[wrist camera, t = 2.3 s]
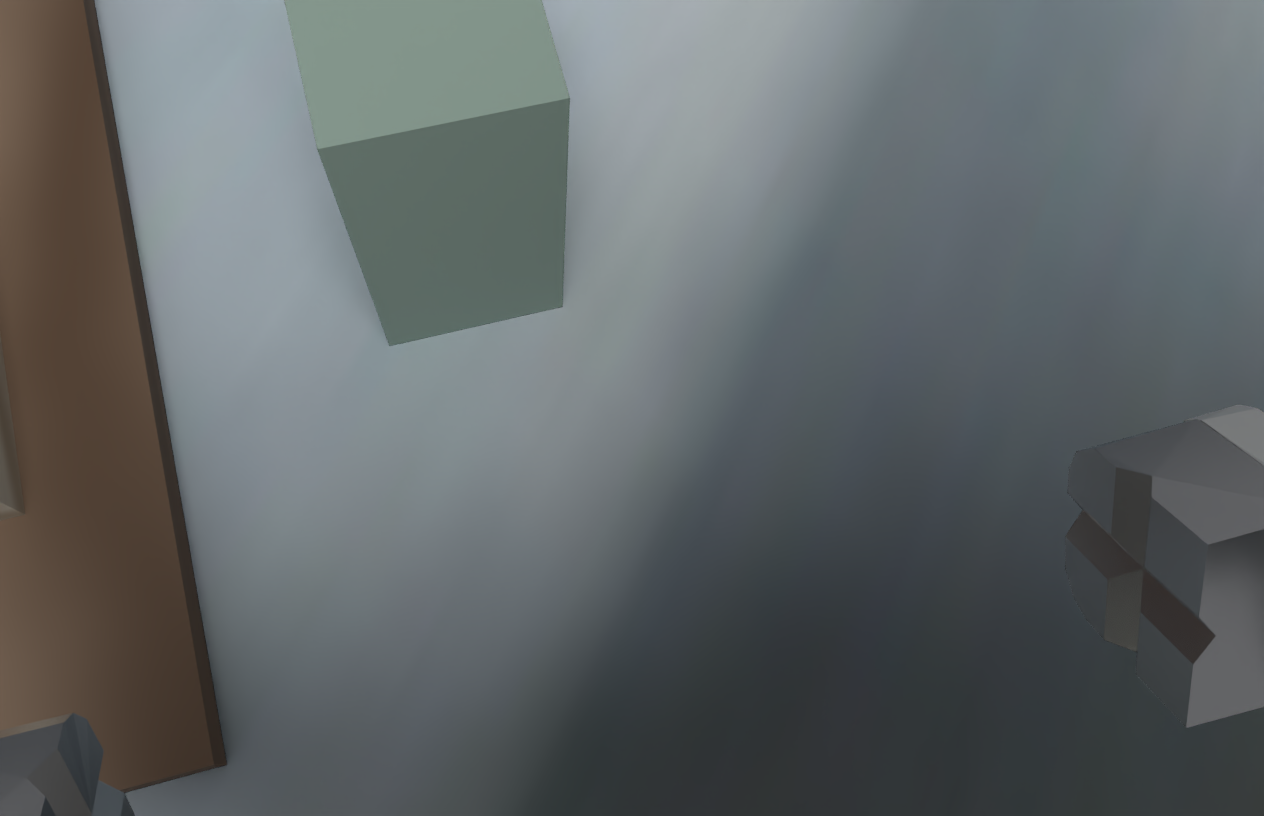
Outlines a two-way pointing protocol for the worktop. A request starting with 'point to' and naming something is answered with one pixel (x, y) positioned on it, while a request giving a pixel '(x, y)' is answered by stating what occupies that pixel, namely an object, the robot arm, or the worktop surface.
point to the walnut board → (87, 429)
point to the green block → (442, 153)
